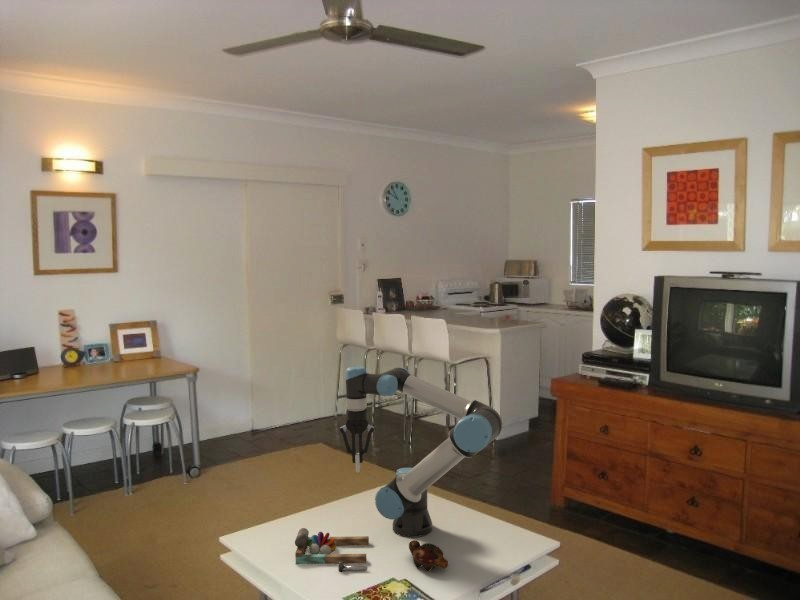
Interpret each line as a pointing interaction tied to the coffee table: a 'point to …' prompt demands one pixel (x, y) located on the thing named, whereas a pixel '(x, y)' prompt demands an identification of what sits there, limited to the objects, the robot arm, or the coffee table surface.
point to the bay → (303, 558)
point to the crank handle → (350, 567)
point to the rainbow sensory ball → (322, 544)
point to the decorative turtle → (427, 555)
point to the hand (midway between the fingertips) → (357, 471)
